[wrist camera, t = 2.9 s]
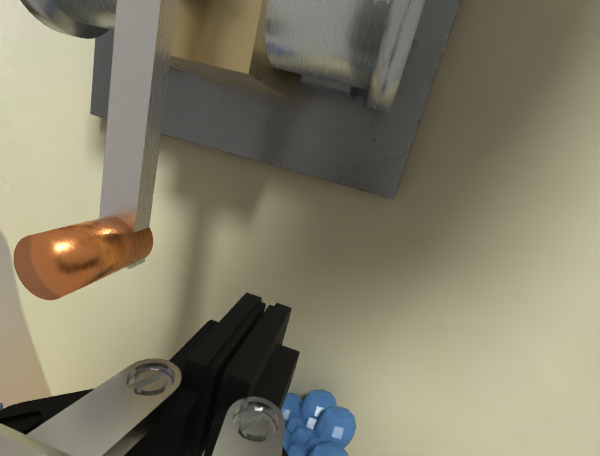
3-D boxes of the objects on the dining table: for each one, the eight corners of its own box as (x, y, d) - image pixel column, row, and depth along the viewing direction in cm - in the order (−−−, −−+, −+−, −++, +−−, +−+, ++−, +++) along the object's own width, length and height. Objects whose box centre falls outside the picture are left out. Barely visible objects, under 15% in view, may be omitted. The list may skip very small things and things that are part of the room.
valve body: (121, -125, 22) (-67, -330, 13) (481, -70, 19) (592, -297, 9) (102, 115, 27) (-49, 95, 17) (392, 196, 23) (405, 227, 14)
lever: (145, -94, 13) (10, -241, 8) (210, -84, 12) (108, -232, 8) (112, 247, 17) (9, 285, 12) (161, 264, 16) (73, 311, 12)
